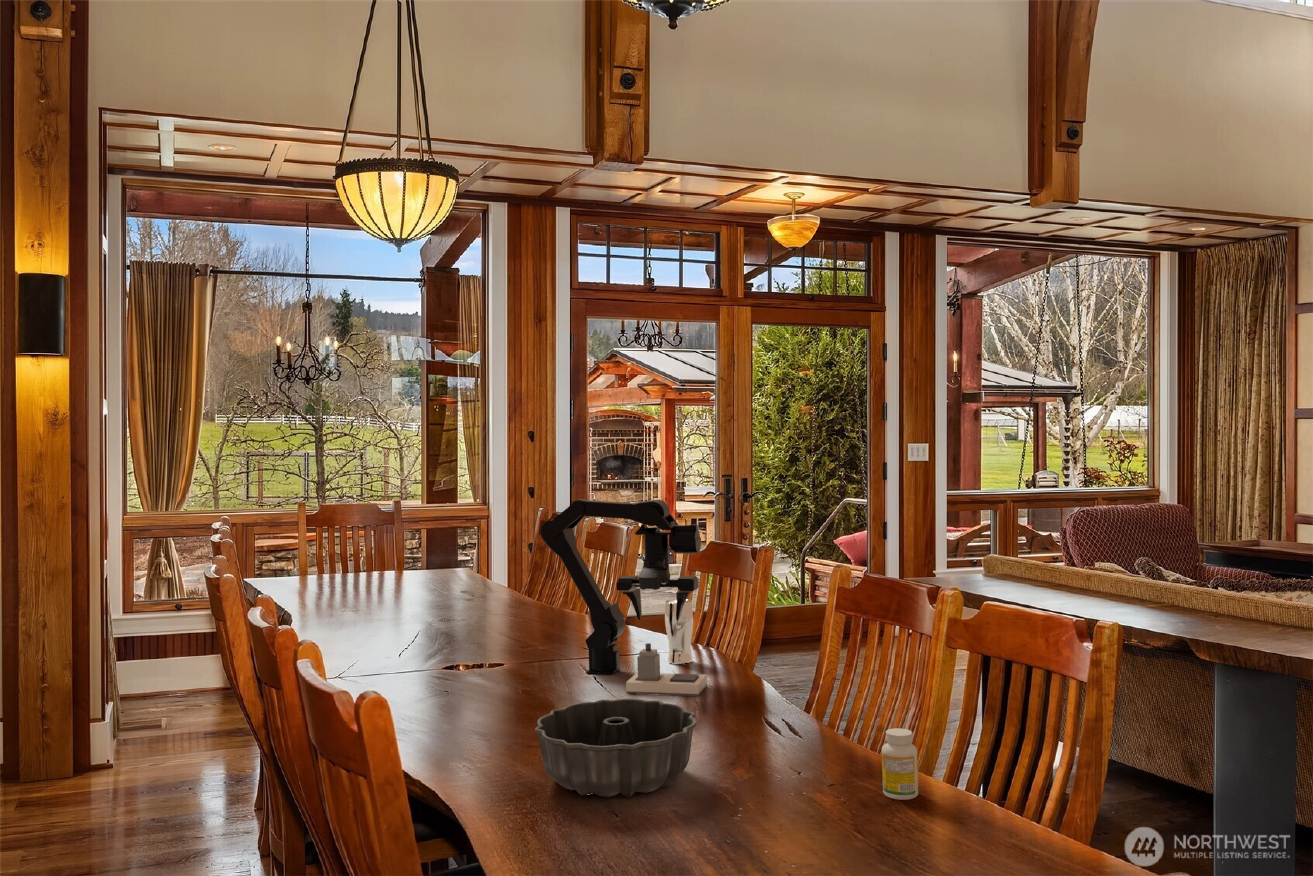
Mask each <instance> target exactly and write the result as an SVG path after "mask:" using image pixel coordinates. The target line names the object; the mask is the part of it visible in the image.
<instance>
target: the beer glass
mask: <svg viewBox="0 0 1313 876" xmlns="http://www.w3.org/2000/svg"><path fill="white" fill-rule="evenodd" d="M664 603H665V604H664V625H665V631H666V635H667V640H668V648H669V649H668V659H667V662H669V663H668V664H670V663H672V664H671V665H675V664H683V665H686V664H685V663H689V662H692V661H693V660H694V659H693V655H692V649H691V647H692V636H693V630H694V609H693V601H692V599H687V598H686V600H685V603H684V606H683V609H682V612H681V615H680V618H679V620H678V621H677V620H676V605H677V598H675V599H674V598H673V599H668V600H665V601H664ZM693 662H694V661H693ZM693 662H692V663H693ZM689 664H690V663H689Z"/></svg>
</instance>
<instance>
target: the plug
mask: <svg viewBox="0 0 1313 876" xmlns="http://www.w3.org/2000/svg"><path fill="white" fill-rule="evenodd" d="M644 645H645V648H642V650H640V651H639V653H638V654H639V655H638V656H637V657H636V660H637V673H638V681H659V680H660V673H661V659H660V656H661V655H660V652H659V653H658V649H657V648H654V649H653V648H652V644H651V643H650V642H649V643H648V642H646V643H644Z"/></svg>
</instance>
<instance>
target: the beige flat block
mask: <svg viewBox="0 0 1313 876" xmlns="http://www.w3.org/2000/svg"><path fill="white" fill-rule="evenodd" d="M706 686H708V675H707V674H696V673H695V674H694V673H661V672H660V680H659V681H638V672H636V673H635V674H634V675H632V677H630V678H629V679H628V680H627V681H626V682H625V688H626V689H625V691H626V693H637V694H636V695H648V694H659V695H658V696H675V695H676V696H679V697H699V696H700V695H701V694H702V693H703V691H704V690H705V689H706V688H707V687H706ZM705 687H706V688H705ZM701 692H702V693H701ZM626 693H625V694H626ZM638 693H639V694H638ZM700 693H701V694H700Z"/></svg>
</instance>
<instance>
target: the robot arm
mask: <svg viewBox="0 0 1313 876" xmlns="http://www.w3.org/2000/svg"><path fill="white" fill-rule="evenodd" d="M585 517H594V518H608V519H609V518H610V519H623V520H624V519H625V520H630V521H633V522H635V523H639V524H641V525H640V527H639V528H638V529H637V530H636V531H635V532H634V534H635V535H636V536H643V545H644V546H643V547H644V553H643V554H644V559H643V563H642V564H643V566H642V568H641V570H640V572H639V574H638V575H623V576H620V577H619V578H618V579H617V580H616V584H615V585H616V591H621V594H622V595H626V596H627V597H628V599H629V600H630V602H631V604H632V607H633V609H634V611H635V614H636V617H637V620H638V621H641V620H642V598H641V597H642V596H641V590H653V591H654V590H655V591H656V590H659V589H661V588H677V589H678V591H676V592H675V595H676V599H677V605H676V620H677V621H678V620H679V618H680V615H681V612H682V609H683V606H684V603H685V600H686V599H687V598H688V596H689V595H691V594H692V593H693V592H694V591H696V590H698V589H699V587H700V586H699V585H700V584H699V582H700V581H699V577H697V576H696V575H681V576H680V577H678V578H676V579H674V578H673V579H671V573H670V561H671V559H670V551H669V549H670V550H671V551H673V552H674V554H679V555H681V554H682V555H684V554H687V555H689V554H690V555H691V554H693V555H695V554H696V555H697V554H700V553H701V548H702V547H701V546H702V537H701V533H700V530H699V525H698V524H697V523H694V524H683V525H682V524H680V525H679V523H678V522H677V521H676V520H675V518H674V517H673V515H672V514H671V512H670V507H669V505H668V504H667V502H665V501H664V500H662V499H652V500H650V499H649V500H643V501H639V502H637V501H635V502H625V501H624V502H623V501H622V502H621V501H609V500H592V499H591V500H590V499H586V498H579V499H575V500H574V501H573V502H572V503H571V504H569V506H567V508H565V509H564V510H563V511H562V512H561V513H559V514H558V515H556V517H554V518H553V519H550V520H546V521H545V522H544V523H543V524H542V526H541V528H540V533H539V534H540V537H541V538H542V540H543V542H544V543H545V544H546V546H547V547H548V548H549V549H550V550H551V551H552V552H553V553H554V554H556V556H558V557H559V558H560V560H561V561H562V563H563V565H564V567H565V569H566V570H567V572H568V574H569V576H570V578H571V580H572V582H573V583H574V585H575V587H576V588H577V590H578V592H579V594H580V595H581V597H582V598H583V601H584V603H585V605H586V606H587V608H588V611H589V617H590V623H591V626H592V628H593V632H592V633H590V634H589V636H588V637H586V639H585V641H584V642H585V644H586V646H587V647H586V648H587V649H588V669H587V670H586V674H596V675H597V674H599V675H600V674H601V675H613V674H614V673H616V672H617V671H618V670H619V669H621V666H620V665H621V662H620V659H621V657H620V651H619V650H618V640H619V638H620V637H619V636H621V635H622V634H623V633H624V631H625V628H626V620H625V618H626V615H624V613H623V612H622V611H621V609H620V606H619V604H618V602H614V603H613V604H611V603H610V602H609V601H608V600H607V599H606V597H605V596H604V595H603V593H602V591H601V589H600V587H599V586H598V583H597V582H596V580H595V578H594V577H593V574H592V573H591V571H590V570H589V567H588V566H587V564H586V562H585V560H584V559H583V557H582V555H581V553H580V552H579V551H580V550H579V549H578V545H577V540H576V535H575V532H574V530H573V529H574V528H576V526H577V525H578V524H579V523H581V521H582V520H583V519H584V518H585ZM648 526H649V527H648ZM654 526H655V527H654Z"/></svg>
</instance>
